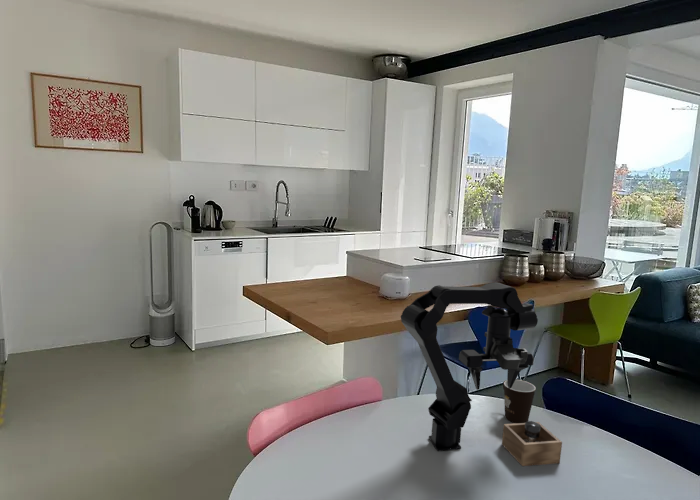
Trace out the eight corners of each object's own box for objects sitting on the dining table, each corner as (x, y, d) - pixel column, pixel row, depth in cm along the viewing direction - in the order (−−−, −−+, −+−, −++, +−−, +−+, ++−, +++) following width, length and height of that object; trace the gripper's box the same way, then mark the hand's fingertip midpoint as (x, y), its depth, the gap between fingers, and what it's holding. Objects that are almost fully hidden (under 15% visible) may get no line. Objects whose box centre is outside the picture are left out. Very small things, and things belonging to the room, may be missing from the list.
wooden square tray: (522, 466, 119) (524, 444, 118) (501, 444, 129) (503, 424, 128) (559, 463, 121) (562, 442, 120) (536, 441, 131) (538, 422, 130)
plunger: (524, 458, 120) (527, 433, 119) (509, 442, 128) (511, 418, 127) (552, 456, 122) (555, 431, 121) (535, 440, 129) (537, 416, 128)
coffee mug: (534, 427, 138) (538, 393, 137) (502, 423, 140) (505, 389, 138) (528, 409, 150) (531, 377, 148) (498, 405, 151) (501, 374, 150)
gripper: (479, 342, 120) (474, 404, 122) (549, 341, 123) (542, 400, 126) (460, 328, 130) (455, 385, 133) (524, 327, 134) (519, 382, 136)
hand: (493, 388), depth 132 cm, fingers open, 9 cm apart
